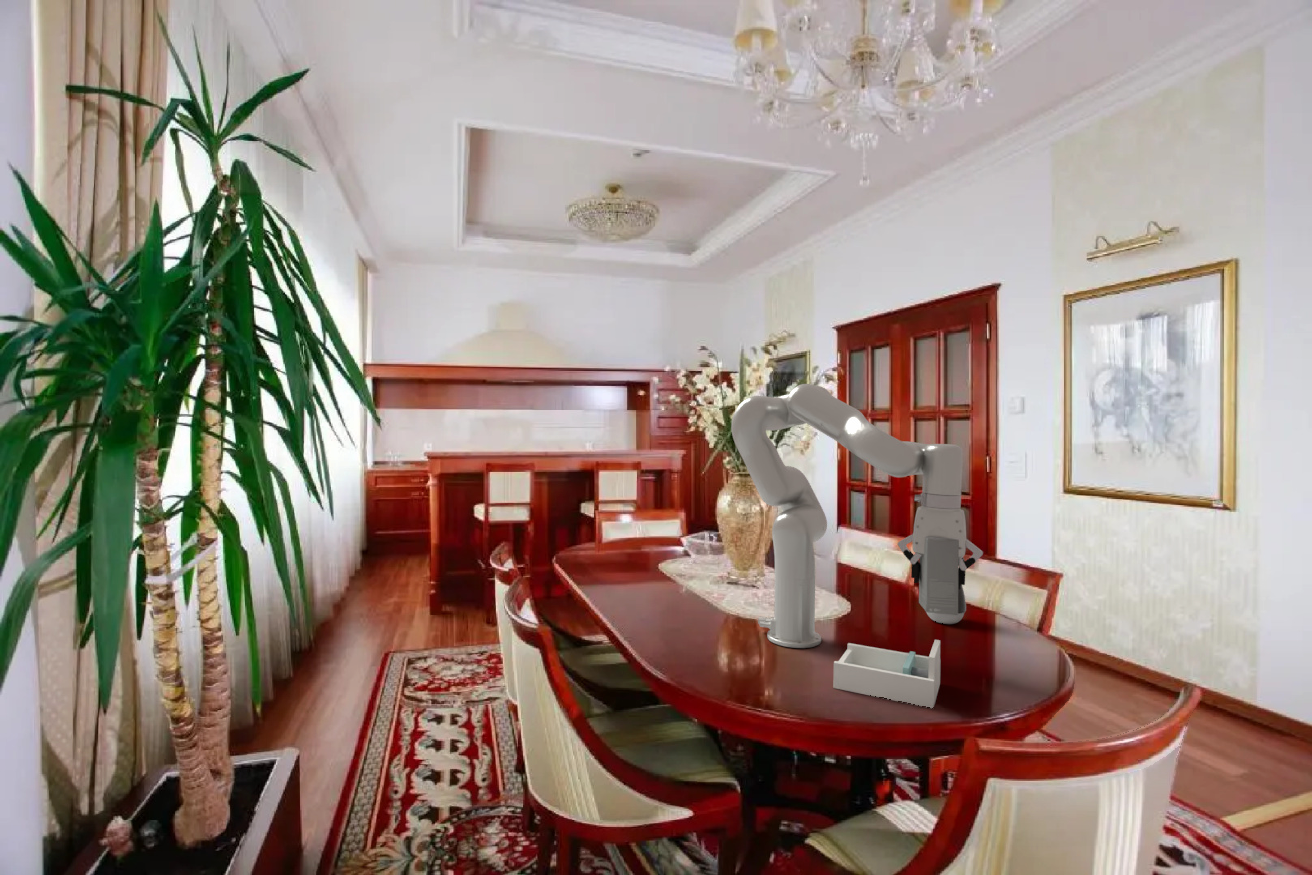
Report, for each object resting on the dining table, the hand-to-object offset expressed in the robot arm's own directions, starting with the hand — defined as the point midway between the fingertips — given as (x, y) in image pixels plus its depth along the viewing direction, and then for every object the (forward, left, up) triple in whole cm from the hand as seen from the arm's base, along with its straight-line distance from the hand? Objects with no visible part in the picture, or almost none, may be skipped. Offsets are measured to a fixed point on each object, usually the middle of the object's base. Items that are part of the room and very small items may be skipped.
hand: (937, 584), depth 134 cm
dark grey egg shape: (-1, +37, -18) cm, 41 cm away
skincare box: (0, 0, -6) cm, 6 cm away
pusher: (-2, -15, -17) cm, 23 cm away
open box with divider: (-7, -15, -18) cm, 25 cm away
